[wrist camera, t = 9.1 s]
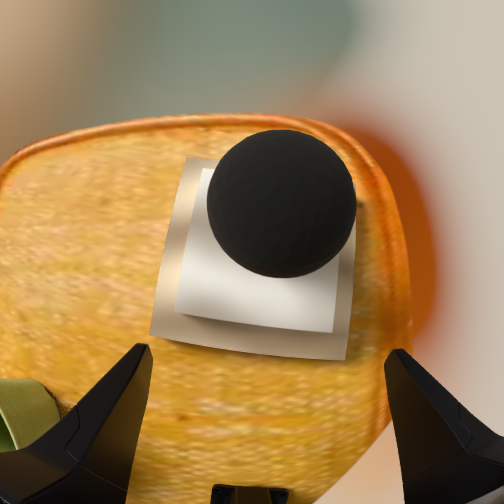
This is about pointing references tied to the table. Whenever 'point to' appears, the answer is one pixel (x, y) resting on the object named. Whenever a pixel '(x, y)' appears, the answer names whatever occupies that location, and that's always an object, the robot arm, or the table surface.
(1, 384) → the plant pot
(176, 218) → the stepped stand
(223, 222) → the light bulb
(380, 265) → the table surface
